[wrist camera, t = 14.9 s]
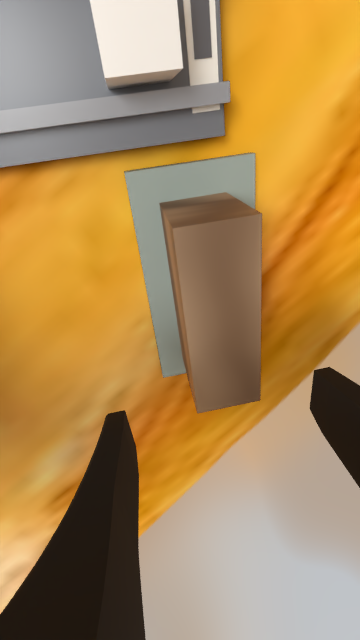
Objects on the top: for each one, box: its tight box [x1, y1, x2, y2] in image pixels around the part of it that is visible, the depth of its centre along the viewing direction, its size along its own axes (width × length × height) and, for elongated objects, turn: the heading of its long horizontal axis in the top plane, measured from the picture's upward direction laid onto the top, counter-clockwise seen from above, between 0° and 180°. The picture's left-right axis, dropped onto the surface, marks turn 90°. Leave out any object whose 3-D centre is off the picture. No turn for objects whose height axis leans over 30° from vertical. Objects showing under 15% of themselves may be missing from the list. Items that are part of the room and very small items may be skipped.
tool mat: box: [124, 153, 255, 378], centre depth 19 cm, size 6×13×1 cm, turn 7°
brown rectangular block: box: [159, 192, 262, 413], centre depth 17 cm, size 4×10×5 cm, turn 7°
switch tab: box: [90, 0, 183, 89], centre depth 11 cm, size 2×3×3 cm
